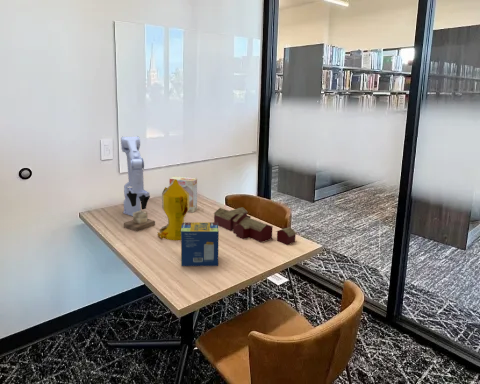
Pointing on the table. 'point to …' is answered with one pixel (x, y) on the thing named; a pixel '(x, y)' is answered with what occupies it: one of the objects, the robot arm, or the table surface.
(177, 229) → the yellow faceted tall shape
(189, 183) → the coffeecake box
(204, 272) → the table surface
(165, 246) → the table surface
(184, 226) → the protein box
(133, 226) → the walnut slab
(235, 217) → the toy houses
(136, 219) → the maple cube
